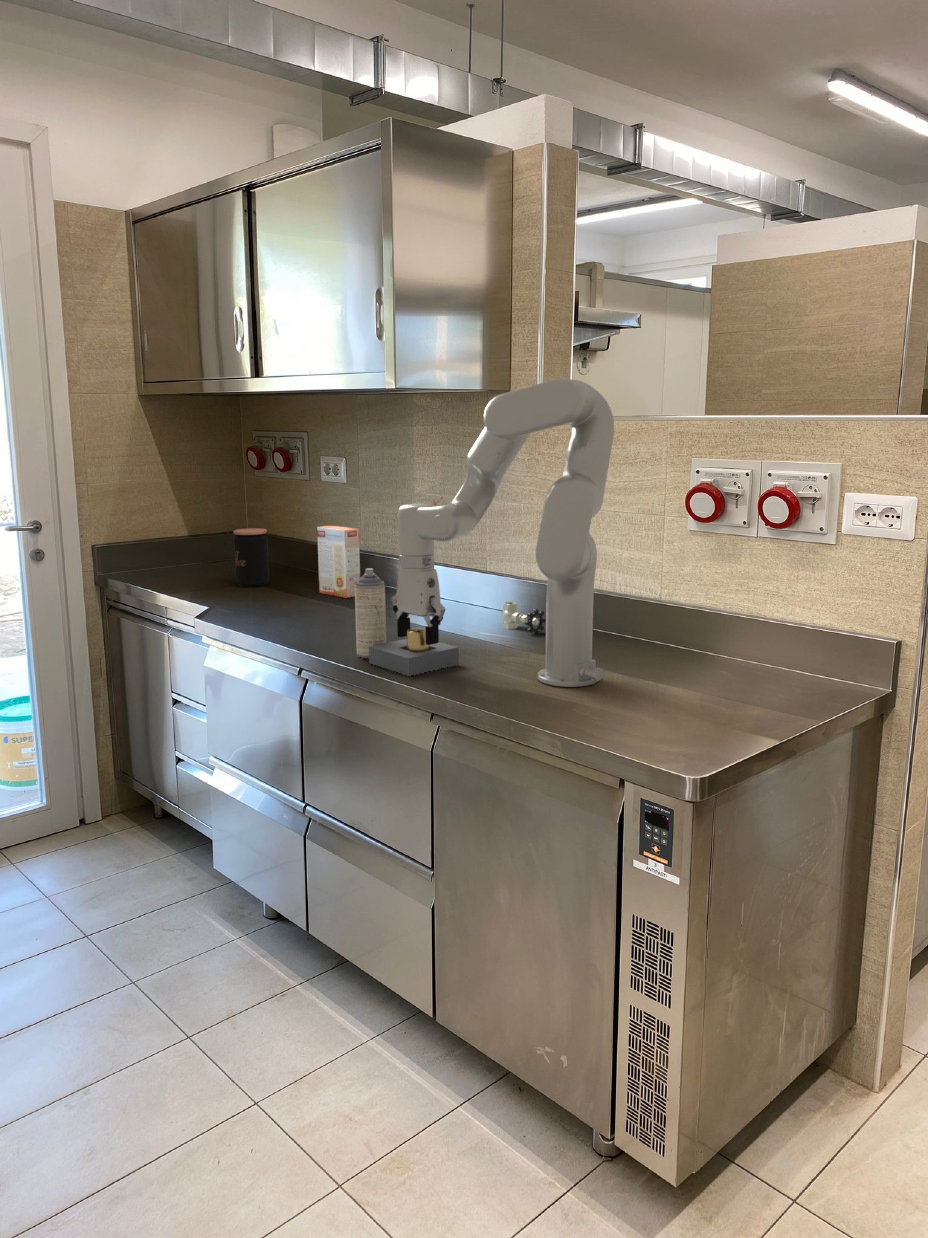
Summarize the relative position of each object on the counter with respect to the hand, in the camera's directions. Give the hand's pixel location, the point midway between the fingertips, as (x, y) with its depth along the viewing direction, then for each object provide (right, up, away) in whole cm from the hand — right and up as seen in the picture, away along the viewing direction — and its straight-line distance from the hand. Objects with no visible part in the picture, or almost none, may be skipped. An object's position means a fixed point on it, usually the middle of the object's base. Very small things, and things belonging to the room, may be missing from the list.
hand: (417, 640), depth 201 cm
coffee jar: (-59, +15, +101) cm, 118 cm away
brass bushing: (0, -6, +1) cm, 6 cm away
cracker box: (-28, +12, +84) cm, 89 cm away
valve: (+24, +1, +35) cm, 43 cm away
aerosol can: (-11, -4, +11) cm, 16 cm away
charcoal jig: (-1, -5, +2) cm, 6 cm away
